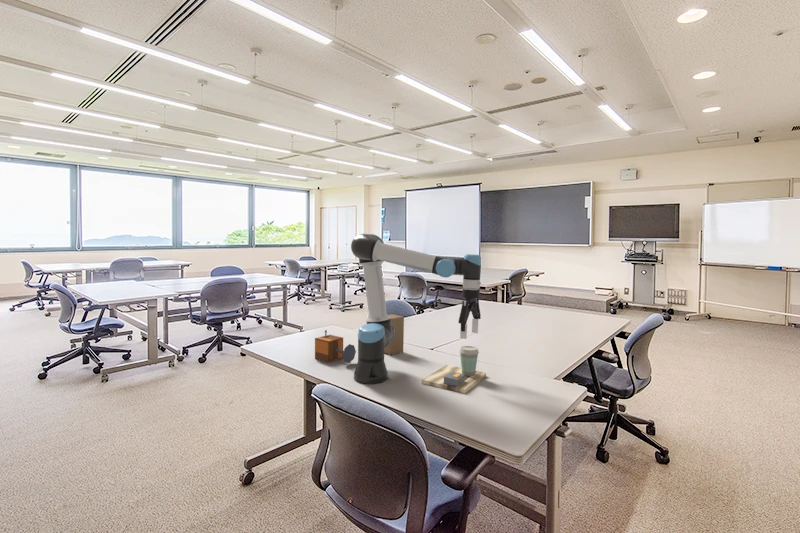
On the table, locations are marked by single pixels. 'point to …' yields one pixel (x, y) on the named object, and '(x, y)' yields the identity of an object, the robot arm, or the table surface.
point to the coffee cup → (468, 360)
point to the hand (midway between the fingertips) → (469, 335)
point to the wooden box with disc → (333, 349)
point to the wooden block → (396, 335)
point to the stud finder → (454, 379)
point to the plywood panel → (438, 381)
